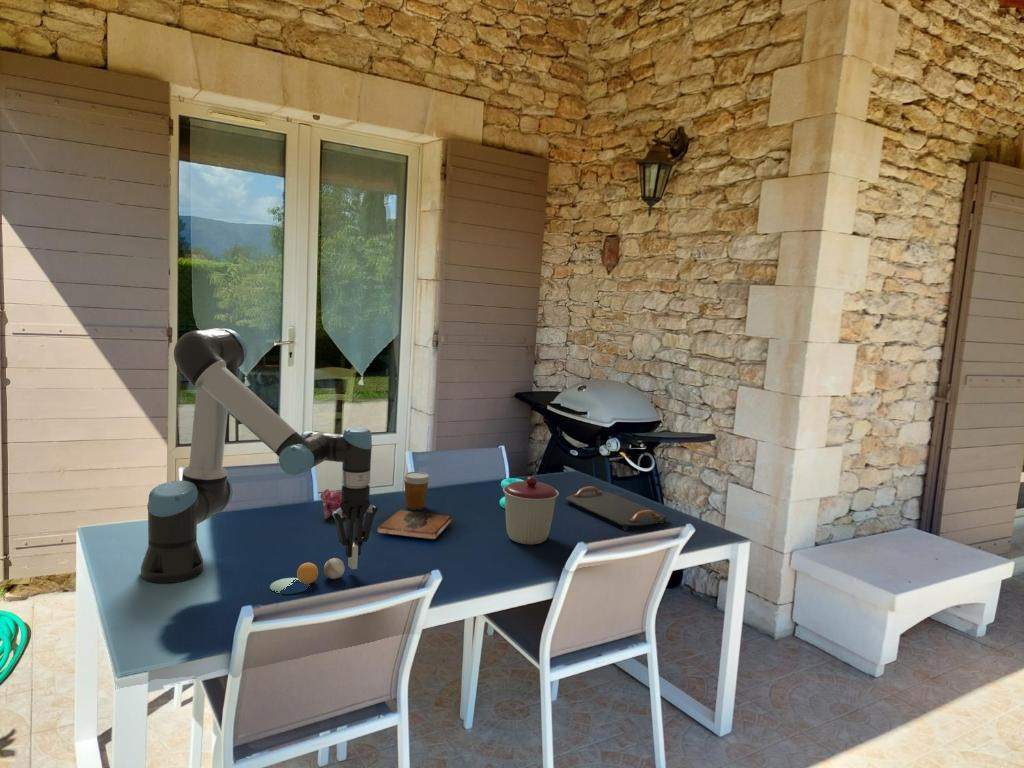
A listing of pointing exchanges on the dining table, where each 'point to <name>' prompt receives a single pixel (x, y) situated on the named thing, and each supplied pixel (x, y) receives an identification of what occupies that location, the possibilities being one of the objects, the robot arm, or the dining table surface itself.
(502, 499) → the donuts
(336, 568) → the ivory ball
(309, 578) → the orange ball
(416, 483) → the disposable coffee cup
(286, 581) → the pale green flat disc
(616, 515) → the serving board
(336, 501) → the flower
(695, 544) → the dining table surface
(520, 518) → the canister
